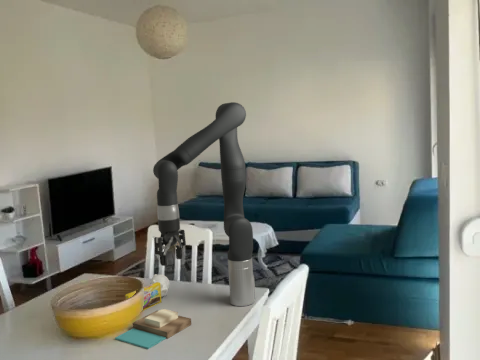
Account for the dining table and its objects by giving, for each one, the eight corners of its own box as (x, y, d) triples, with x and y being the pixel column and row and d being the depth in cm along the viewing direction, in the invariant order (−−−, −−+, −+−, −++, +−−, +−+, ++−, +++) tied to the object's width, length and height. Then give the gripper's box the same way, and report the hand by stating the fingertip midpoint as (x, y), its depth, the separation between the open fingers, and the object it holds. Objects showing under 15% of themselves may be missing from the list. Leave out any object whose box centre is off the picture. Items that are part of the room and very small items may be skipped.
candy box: (129, 317, 175) (127, 295, 174) (126, 316, 177) (124, 294, 176) (162, 302, 188) (160, 282, 187) (158, 301, 189) (156, 281, 188)
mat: (133, 329, 164) (133, 328, 164) (165, 338, 156) (165, 337, 156) (115, 339, 158) (115, 337, 158) (148, 349, 149) (148, 347, 149)
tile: (163, 314, 171) (162, 308, 170) (178, 317, 167) (177, 312, 166) (145, 323, 163) (144, 318, 163) (160, 327, 159) (159, 321, 159)
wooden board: (157, 316, 175) (157, 310, 174) (191, 324, 166) (190, 318, 165) (133, 329, 165) (132, 322, 165) (167, 338, 156) (167, 332, 156)
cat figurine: (160, 277, 189) (161, 267, 201) (138, 293, 189) (140, 282, 201) (174, 293, 191) (174, 283, 203) (152, 309, 191) (153, 298, 203)
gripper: (163, 221, 161) (166, 269, 162) (189, 213, 173) (192, 257, 174) (146, 220, 164) (150, 266, 166) (173, 212, 176) (176, 255, 178)
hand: (171, 262), depth 170 cm, fingers open, 8 cm apart
